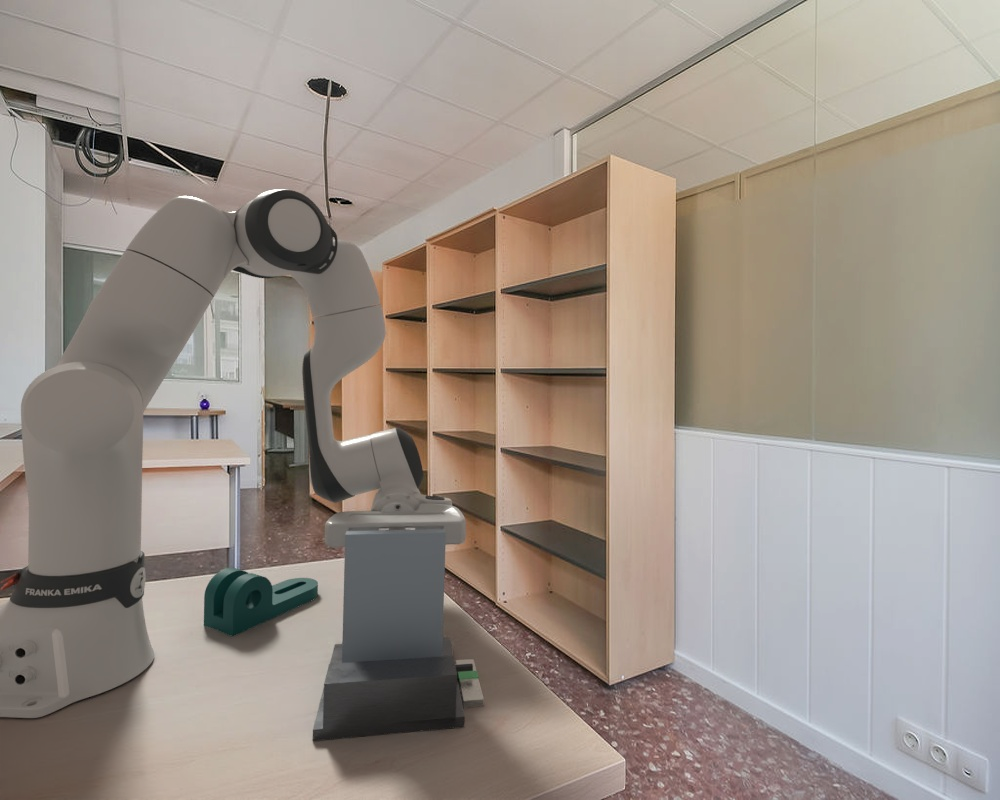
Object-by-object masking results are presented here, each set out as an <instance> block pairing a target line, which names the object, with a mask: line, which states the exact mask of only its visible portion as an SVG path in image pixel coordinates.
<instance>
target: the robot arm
mask: <svg viewBox="0 0 1000 800" xmlns="http://www.w3.org/2000/svg"><path fill="white" fill-rule="evenodd" d="M232 271H233V272H237V273H241V274H244V275H247V276H250V277H254V278H258V279H273V278H278V277H284V276H285V277H286V276H290V277H291V278H292V279H293V280H295V281H296V282H297V283H298V285H299V286H300V287H301V289H302V290H303V291H304V294H305V296H306V297H307V302H308V305H309V309H310V313H311V316H312V320H313V327H314V336H313V342H312V346H311V348H310V349H309V350H308V351H307V352H305V353H304V355H303V360H302V366H301V367H302V369H301V370H302V371H301V373H302V388H303V389H302V390H303V400H304V401H303V402H304V411H305V420H306V430H307V438H308V440H307V441H308V451H309V453H308V454H309V456H308V457H309V462H308V464H309V465H308V474H309V482H310V484H311V487H312V489H313V491H314V493H315V495H317V496H318V497H320V498H322V499H324V500H326V501H329V502H332V503H334V504H336V503H340V502H342V501H345V500H349V499H351V498H354V497H356V496H359V495H361V494H364V493H369V492H372V491H376V490H377V491H376V493H375V494H374V498H373V500H372V504H371V508H370V510H353V511H352V510H347V511H340V512H337V513H334V514H333V515H331V517H329V518H328V520H326V522H325V524H324V545H325V546H327V547H329V548H334V549H335V548H345V534H346V531H379V530H433V529H445V531H446V545H449V546H450V545H462V544H464V543H465V542H466V537H467V536H466V535H467V520H466V517H465V516H464V514H463V512H462V511H461V510H460V509H459V508H458V507H456V506H454V505H453V500H452V499H451V498H449V497H443V496H436V495H435V496H434V495H426V494H423V493H421V491H420V487H421V486H422V484H423V481H424V476H425V475H424V470H423V465H422V460H421V455H420V453H419V450H418V447H417V444H416V443H415V441H414V438H413V437H412V436H411V434H409V433H407V432H406V431H405V430H403V429H401V428H399V427H393V428H389V429H385V430H380V431H376V432H372V433H370V434H366V435H362V436H359V437H357V436H356V437H353V438H350V439H346V440H337V439H336V438H335V436H334V427H333V426H334V425H333V414H332V405H331V404H332V403H331V394H332V391H333V389H334V387H335V386H336V385H337V383H339V382H340V381H342V379H343V378H345V377H346V376H348V375H349V374H350V373H352V372H354V371H356V369H358V368H360V367H361V366H364V364H366V363H367V362H368V361H370V360H371V359H372V358H373V357H374V356H375V355H376V354H377V353H378V352H379V351H380V349H381V347H382V346H383V343H384V341H385V338H386V334H387V333H386V323H385V317H384V311H383V306H382V304H381V299H380V296H379V293H378V289H377V286H376V283H375V280H374V277H373V275H372V271H371V269H370V268H369V265H368V262H367V259H366V258H365V255H364V254H363V252H362V250H361V249H360V248H359V246H358V245H356V244H355V243H352V242H350V241H347V240H345V239H344V240H343V239H338V235H337V233H336V232H335V230H334V229H333V228H332V227H331V225H330V224H329V223H328V220H327V219H326V217H325V215H324V213H323V212H322V210H321V209H320V207H318V206H317V204H316V203H315V202H314V201H313V200H312V199H311V198H309V197H308V196H307V195H304V194H303V193H301V192H298V191H296V190H292V189H286V188H285V189H284V188H283V189H282V188H281V189H279V188H278V189H271V190H267V191H264V192H262V193H260V194H259V195H257V196H256V197H255V198H253V199H252V200H250V201H248V202H247V203H245V204H244V205H242V206H241V207H239V208H238V209H237V210H236V211H225V210H222V209H220V208H218V207H216V206H215V205H213V204H212V203H210V202H208V201H207V200H204V199H200V198H198V197H193V196H189V195H188V196H187V195H181V196H175V197H173V198H171V199H169V200H168V201H166V202H165V203H164V204H163V205H162V206H161V207H160V208H159V209H158V210H156V212H155V213H154V214H152V216H151V217H150V218H149V219H148V220H147V221H146V222H145V224H144V225H143V226H142V227H141V228H140V229H139V231H138V232H137V233H136V234H135V236H133V238H132V240H131V241H130V243H129V244H128V245H127V247H126V249H125V250H124V251H123V253H122V255H121V256H120V258H119V259H118V260H117V262H116V263H115V265H114V267H113V268H112V270H111V271H110V273H109V274H108V276H107V277H106V279H105V280H104V282H103V284H102V286H101V287H100V288H99V290H98V292H97V293H96V294H95V296H94V297H93V299H92V300H91V302H90V304H89V305H88V308H87V310H86V312H85V314H84V315H83V318H82V319H81V321H80V323H79V325H78V327H77V328H76V331H75V333H74V334H73V336H72V338H71V339H70V341H69V343H68V345H67V347H66V349H65V350H64V352H63V354H62V355H61V356H60V359H59V360H58V362H57V364H56V365H55V366H53V367H51V368H49V369H47V370H46V371H44V372H41V373H40V374H39V375H38V376H37V377H36V378H34V379H33V380H32V381H31V383H30V384H29V385H28V386H27V387H26V389H25V391H24V393H23V396H22V399H21V403H20V421H21V424H20V425H21V439H22V440H21V441H22V442H21V443H22V453H23V464H24V465H23V466H24V467H23V468H24V474H25V475H24V476H25V484H26V491H27V501H28V547H27V549H28V554H27V558H28V561H27V562H28V565H27V566H25V567H23V568H21V569H19V570H16V571H15V572H14V574H13V575H11V576H9V577H7V578H5V579H3V580H1V581H0V583H1V584H3V583H4V584H3V586H1V588H0V590H1V591H4V590H7V589H9V588H10V587H12V586H13V590H12V593H11V595H10V597H9V599H8V600H6V601H5V602H4V603H2V604H1V605H0V718H18V719H19V718H20V719H21V718H22V719H36V718H41V717H45V716H47V715H49V714H52V713H54V712H56V711H58V710H60V709H63V708H65V707H66V706H68V705H71V704H73V703H76V702H78V701H81V700H84V699H87V698H89V697H94V696H96V695H99V694H102V693H104V692H107V691H110V690H113V689H114V688H116V687H119V686H121V685H124V684H125V683H127V682H129V681H130V680H132V679H134V678H135V677H137V676H139V675H140V674H141V673H143V672H144V671H145V670H146V669H147V668H148V667H149V666H150V665H151V664H152V662H153V661H154V658H155V651H154V648H153V646H152V643H151V640H150V637H149V633H148V629H147V623H146V619H145V611H144V604H143V597H144V595H145V588H146V587H145V586H146V577H147V576H146V575H147V574H146V561H145V559H146V558H145V557H146V555H145V552H143V551H142V505H143V504H142V503H143V502H142V501H143V500H142V499H143V498H142V497H143V453H144V451H143V446H144V445H143V443H144V412H145V411H146V409H147V407H148V406H149V403H150V402H151V401H152V400H153V398H154V396H155V394H156V392H157V390H158V389H159V387H160V386H161V384H162V382H163V381H164V380H165V378H166V376H167V375H168V373H169V371H170V370H171V368H172V367H173V366H174V364H175V363H176V361H177V359H178V357H179V356H180V355H181V353H182V351H183V350H184V349H185V346H186V344H187V343H188V341H189V340H190V338H191V336H192V335H193V333H194V331H195V329H196V328H197V326H198V325H199V323H200V322H201V320H202V318H203V316H204V315H205V313H206V311H207V310H208V309H209V306H210V304H211V302H213V301H212V300H213V299H214V297H215V296H216V294H217V292H218V290H219V288H220V286H221V285H222V283H223V281H224V280H225V278H226V277H227V276H228V275H229V274H230V273H231V272H232ZM446 545H445V546H446Z"/></svg>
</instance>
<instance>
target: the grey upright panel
mask: <svg viewBox="0 0 1000 800" xmlns="http://www.w3.org/2000/svg"><path fill="white" fill-rule="evenodd" d="M343 563H344V567H343V570H344V571H343V601H342V603H343V605H342V607H343V609H342V641H341V642H342V643H341V644H342V663H347V662H363V661H378V660H394V659H409V658H425V657H441V656H442V641H443V638H444V637H443V634H444V602H445V575H446V574H445V572H446V571H445V569H446V531H445V529H433V530H379V531H346V534H345V547H344V562H343ZM455 666H456V672H463V671H473V665H472V664H460V665H456V664H455Z"/></svg>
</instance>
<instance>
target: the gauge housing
mask: <svg viewBox="0 0 1000 800" xmlns="http://www.w3.org/2000/svg"><path fill="white" fill-rule="evenodd" d="M331 654H332V655H331V658H330V661H329V664H328V667H327V669H326V670H327V671H326V675H325V678H324V679H325V680H324V682H323V687H322V688H323V689H322V693H321V697H320V701H319V705H318V708H317V713H316V716H315V720H314V724H313V728H312V742H316V741H326V740H327V741H329V740H338V739H339V740H340V739H349V738H350V739H351V738H359V737H360V738H362V737H373V736H383V735H393V734H404V733H415V732H427V731H437V730H438V731H439V730H447V729H448V730H449V729H458V728H461V729H462V728H465V723H466V722H465V720H466V719H465V718H466V717H465V716H466V715H465V711H464V710H465V709H464V708H472V707H474V708H475V707H484V703H485V701H484V700H485V699H484V695H483V690H482V687H481V684H480V679H479V673H478V670H477V667H476V663H475V660H474V658H472V659H456V660H455V657H454V656H455V655H454V651H453V647H452V641H451V638H450V637H443V641H442V656H441V657H425V658H409V659H394V660H378V661H363V662H347V663H342V643H335V644H334V646H333V649H332V653H331ZM460 664H472V665H473V671H463V672H456V666H455V665H460Z"/></svg>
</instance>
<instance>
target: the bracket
mask: <svg viewBox="0 0 1000 800" xmlns="http://www.w3.org/2000/svg"><path fill="white" fill-rule="evenodd" d="M318 589H319V582H318V581H317V580H316V579H315V578H310V577H295V578H289V579H286V580H283V581H280V582H278V583H275V584H272V582H271V581H270V580H269V579H268V578H267V577H266V576H264V575H263V576H262V575H259V574H256V573H249V572H248V571H246V570H243V569H239V568H235V567H225V568H224V569H221V570H220V571H218V572H217V573H215V574H214V575H213V576H212V578H211V579H210V580H209V582H208V583H207V585H206V587H205V590H204V597H203V600H204V601H203V626H204V627H208V628H210V629H212V630H215V631H217V632H220V633H223V634H225V635H227V636H230V637H235V636H237V635H240V634H241V633H244V632H246V631H247V630H250V629H253V628H254V627H256V626H259V625H261V624H263V623H266V622H269V621H270V620H272V619H274V618H277V617H279V616H281V615H283V614H286V613H287V612H289V611H291V610H294V609H296V608H299V607H300V605H301V606H303V605H305V604H308V603H310V602H312V601H314V600H315V599H316V598H317V597H318V594H319V593H318V591H319V590H318ZM313 599H314V600H313ZM311 600H312V601H311ZM309 601H310V602H309ZM307 602H308V603H307ZM302 604H303V605H302ZM298 606H299V607H298Z"/></svg>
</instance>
